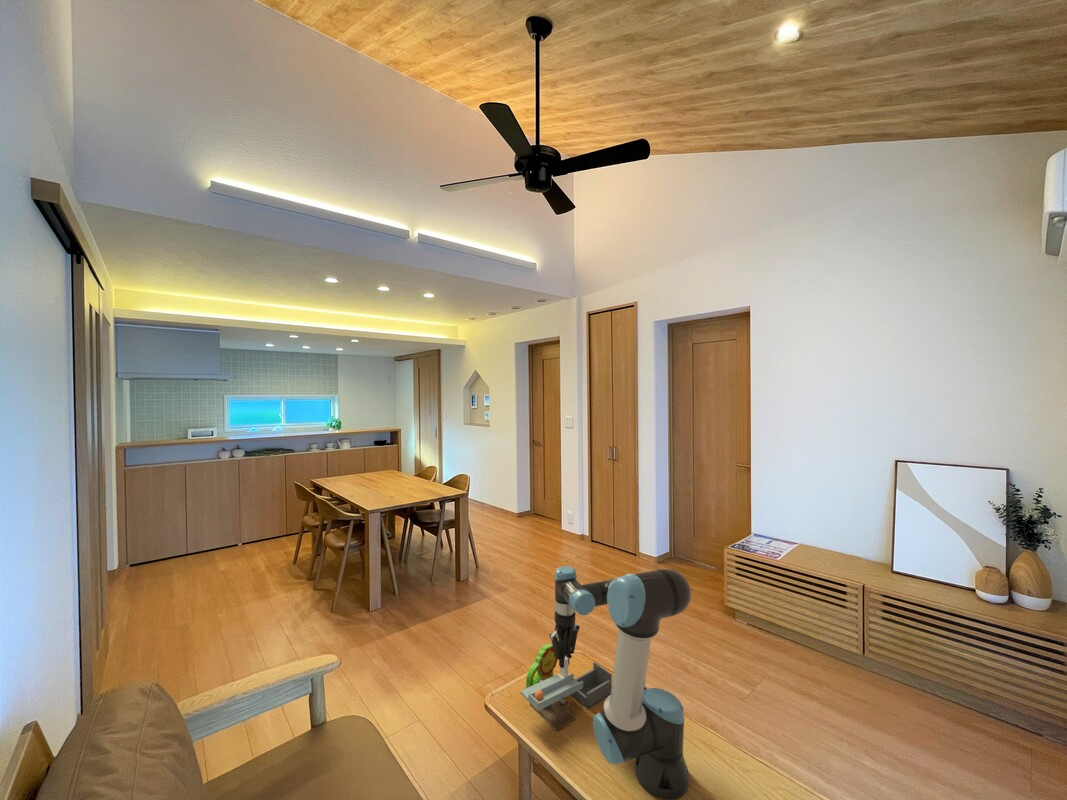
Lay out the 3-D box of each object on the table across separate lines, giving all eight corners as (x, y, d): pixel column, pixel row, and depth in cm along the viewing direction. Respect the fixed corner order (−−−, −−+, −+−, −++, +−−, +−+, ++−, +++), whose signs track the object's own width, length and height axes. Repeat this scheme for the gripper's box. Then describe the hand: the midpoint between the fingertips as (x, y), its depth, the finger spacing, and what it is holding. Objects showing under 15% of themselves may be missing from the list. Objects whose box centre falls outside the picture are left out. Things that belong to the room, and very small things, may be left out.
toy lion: (533, 702, 155) (534, 661, 155) (522, 695, 159) (523, 654, 159) (561, 681, 167) (561, 642, 167) (550, 674, 171) (551, 636, 170)
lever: (585, 693, 152) (586, 683, 152) (541, 716, 139) (541, 706, 139) (561, 673, 162) (561, 664, 162) (517, 693, 150) (518, 684, 150)
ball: (545, 701, 144) (546, 691, 144) (538, 705, 142) (538, 695, 142) (540, 695, 147) (540, 686, 146) (532, 699, 145) (532, 690, 145)
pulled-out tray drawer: (611, 694, 160) (611, 673, 159) (587, 709, 152) (587, 687, 152) (594, 682, 167) (594, 661, 166) (571, 695, 159) (571, 674, 159)
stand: (575, 720, 147) (575, 701, 147) (557, 731, 143) (557, 712, 142) (547, 695, 159) (547, 677, 159) (529, 704, 154) (529, 686, 154)
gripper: (571, 601, 164) (570, 662, 165) (544, 612, 156) (543, 676, 157) (585, 609, 158) (584, 672, 159) (558, 621, 150) (557, 687, 151)
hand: (564, 674), depth 158 cm, fingers closed
